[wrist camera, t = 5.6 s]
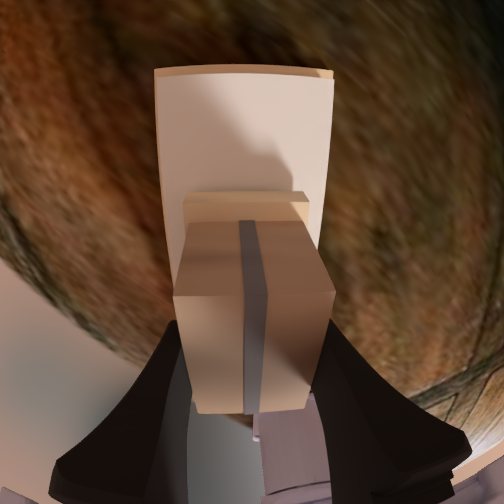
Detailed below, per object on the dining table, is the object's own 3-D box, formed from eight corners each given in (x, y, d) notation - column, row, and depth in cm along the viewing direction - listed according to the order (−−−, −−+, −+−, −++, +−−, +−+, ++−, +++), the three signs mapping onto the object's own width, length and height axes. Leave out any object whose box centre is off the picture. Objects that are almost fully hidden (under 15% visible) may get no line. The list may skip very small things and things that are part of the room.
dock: (329, 70, 12) (346, 69, 10) (295, 354, 22) (300, 378, 20) (157, 69, 12) (144, 67, 10) (188, 358, 22) (186, 383, 20)
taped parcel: (287, 329, 17) (306, 417, 12) (200, 332, 16) (195, 422, 12) (303, 191, 13) (348, 268, 8) (186, 192, 12) (160, 272, 7)
